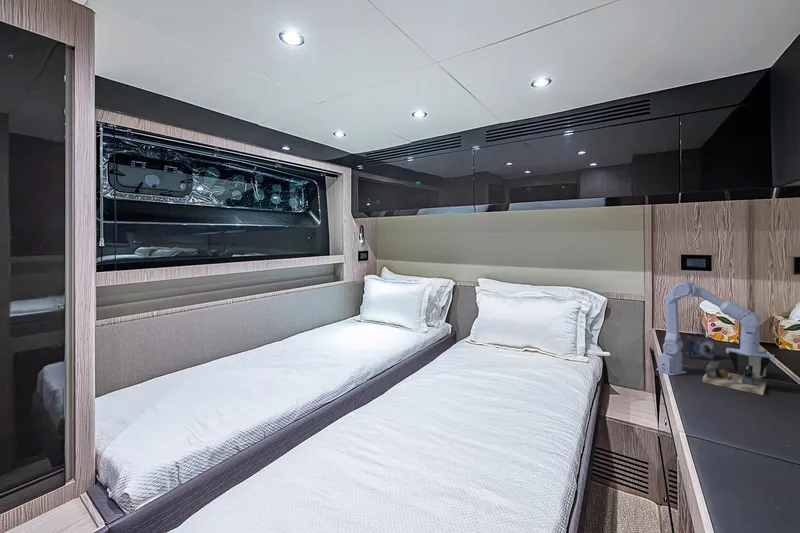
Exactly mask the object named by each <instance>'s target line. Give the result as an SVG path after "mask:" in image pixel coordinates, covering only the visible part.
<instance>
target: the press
mask: <svg viewBox="0 0 800 533" xmlns="http://www.w3.org/2000/svg"><path fill="white" fill-rule="evenodd" d="M705 369H706V370H705V372H706V373H705V374H704V375H703V376H702V383H705V384H710V385H714V386H721V387H723V386H724V388H727V389H728V388H729V389H733V390H737V391H743V392H748V393H752V394H756V395H759V396H760V395H761V396H764V393H765V390H766V387H767V381H764V379H762V378H756V377H754V382H753V384H752V385H748V384H744V383H742V376H743V375H741V374H736V373H731V372H728V371H727V370H726V369H722V368H721V369H720V362H719V361H714V360H710V361H709V363H708V364H707V365H706V368H705Z"/></svg>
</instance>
